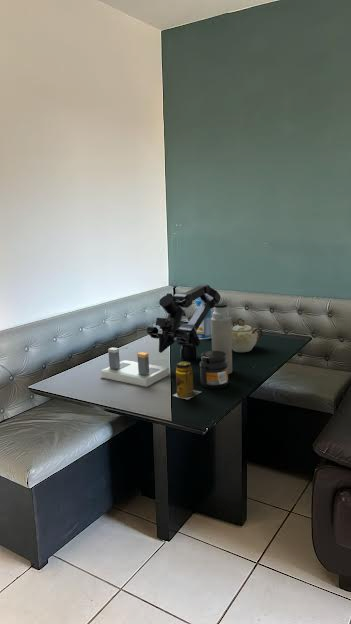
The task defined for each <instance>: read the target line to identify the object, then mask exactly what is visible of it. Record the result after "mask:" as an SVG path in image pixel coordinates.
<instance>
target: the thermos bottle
mask: <svg viewBox="0 0 351 624" xmlns="http://www.w3.org/2000/svg"><path fill="white" fill-rule="evenodd" d="M214 306H215V307H214V311H213V312H212V314H211V316H212V318H211V335H212V337H211V351H222V352H224V353H226V361H227V362H228V375H229V374H232V372H233V349H232V337H231V328H232V317H231V316H230V312H229V311H228V308H227V307H228V304H227V303H218V304H215V305H214Z"/></svg>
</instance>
